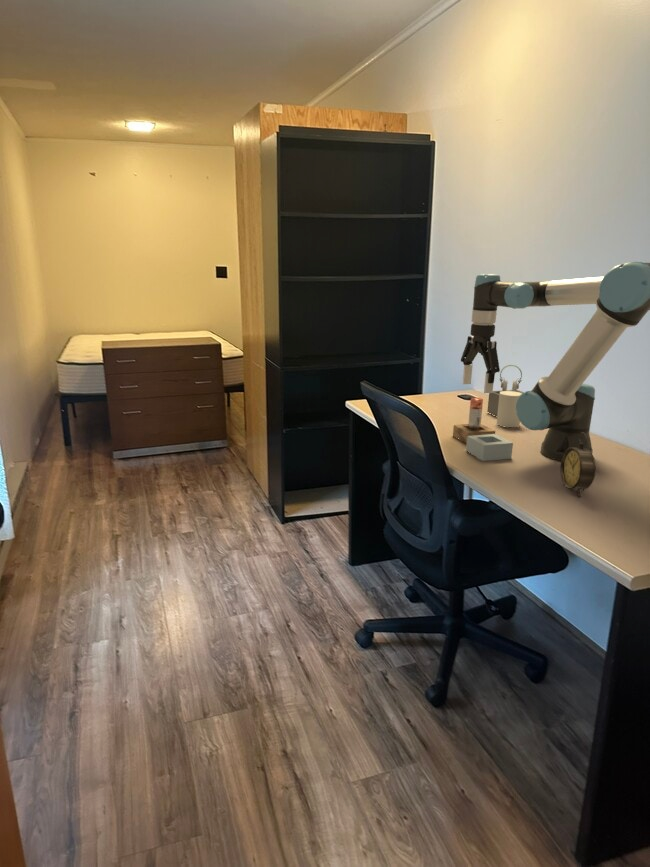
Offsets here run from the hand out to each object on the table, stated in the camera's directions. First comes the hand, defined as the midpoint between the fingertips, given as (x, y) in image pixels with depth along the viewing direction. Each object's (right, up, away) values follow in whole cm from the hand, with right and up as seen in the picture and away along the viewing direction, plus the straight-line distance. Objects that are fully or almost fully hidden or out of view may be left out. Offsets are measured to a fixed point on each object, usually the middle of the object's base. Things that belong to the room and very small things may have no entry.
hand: (477, 388), depth 196 cm
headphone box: (+21, -8, +37) cm, 43 cm away
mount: (0, -17, +5) cm, 18 cm away
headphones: (+21, -8, +37) cm, 43 cm away
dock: (+1, -22, -11) cm, 24 cm away
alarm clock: (+16, -31, -40) cm, 52 cm away
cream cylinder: (+17, -12, +23) cm, 31 cm away
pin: (0, -17, +5) cm, 18 cm away
